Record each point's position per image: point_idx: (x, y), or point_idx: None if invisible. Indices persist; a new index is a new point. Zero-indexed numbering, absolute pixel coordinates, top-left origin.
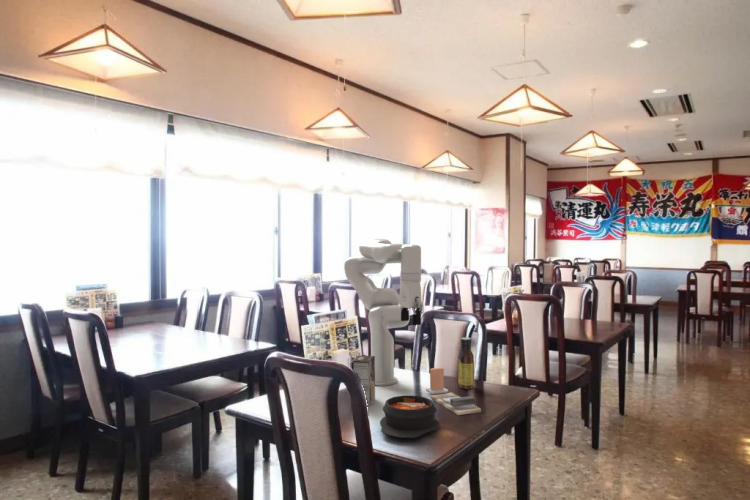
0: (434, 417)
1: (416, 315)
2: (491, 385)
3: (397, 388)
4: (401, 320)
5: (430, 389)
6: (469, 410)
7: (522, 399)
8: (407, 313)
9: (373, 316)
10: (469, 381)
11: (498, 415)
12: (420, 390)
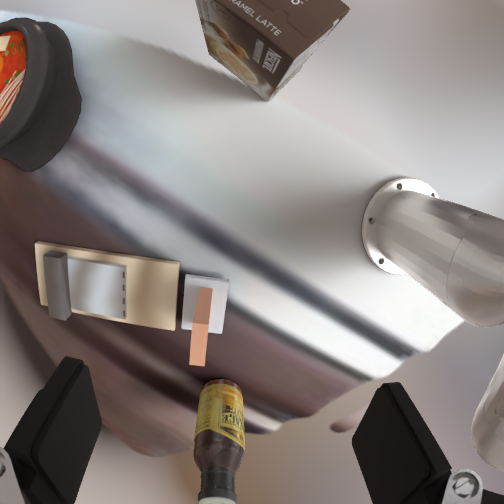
0: (6, 156)
1: (6, 450)
2: None
3: (324, 227)
4: (388, 383)
5: (210, 288)
6: (37, 274)
7: None
8: (378, 489)
9: None
10: (199, 401)
11: (22, 314)
12: (264, 279)
